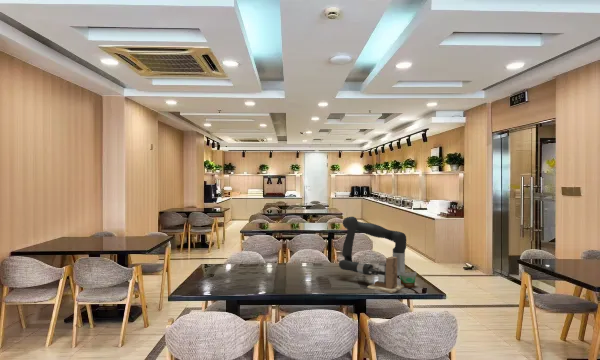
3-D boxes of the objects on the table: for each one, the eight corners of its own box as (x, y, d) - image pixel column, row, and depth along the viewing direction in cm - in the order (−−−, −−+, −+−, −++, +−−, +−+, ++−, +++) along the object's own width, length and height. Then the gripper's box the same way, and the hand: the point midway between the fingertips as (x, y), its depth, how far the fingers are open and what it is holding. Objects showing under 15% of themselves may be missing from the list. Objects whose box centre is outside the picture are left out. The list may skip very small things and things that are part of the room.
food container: (403, 288, 255) (403, 273, 255) (399, 286, 261) (399, 271, 261) (419, 287, 258) (420, 273, 258) (415, 285, 264) (415, 271, 264)
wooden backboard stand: (380, 282, 270) (380, 253, 270) (404, 287, 258) (404, 256, 258) (367, 287, 256) (367, 256, 256) (391, 293, 244) (391, 260, 244)
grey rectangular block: (381, 281, 262) (381, 262, 262) (387, 282, 259) (387, 263, 259) (378, 282, 258) (378, 263, 258) (384, 283, 255) (384, 264, 255)
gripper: (359, 265, 262) (381, 269, 251) (370, 262, 273) (391, 265, 262) (359, 275, 262) (381, 280, 251) (370, 272, 273) (391, 276, 262)
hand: (386, 273), depth 257 cm, fingers closed on grey rectangular block, 4 cm apart
